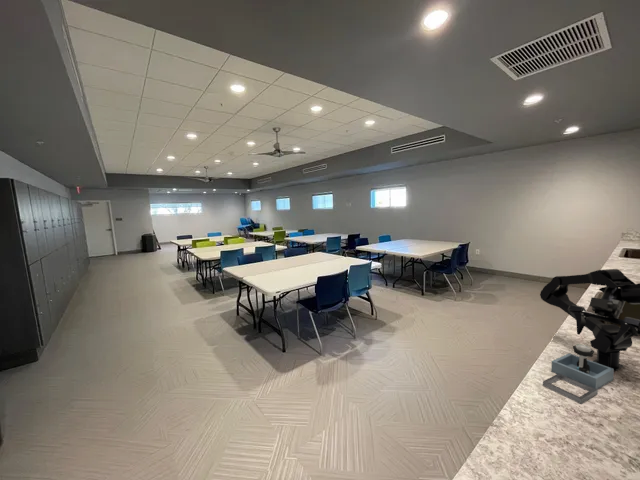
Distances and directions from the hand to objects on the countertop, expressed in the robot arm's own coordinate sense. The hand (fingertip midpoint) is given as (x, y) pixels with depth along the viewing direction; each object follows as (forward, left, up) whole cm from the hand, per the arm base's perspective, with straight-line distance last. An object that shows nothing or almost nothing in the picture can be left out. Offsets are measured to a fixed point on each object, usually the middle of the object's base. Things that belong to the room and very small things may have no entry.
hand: (595, 338), depth 93 cm
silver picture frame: (+16, 0, -14) cm, 21 cm away
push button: (+3, -2, -13) cm, 14 cm away
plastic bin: (+3, -2, -14) cm, 14 cm away
